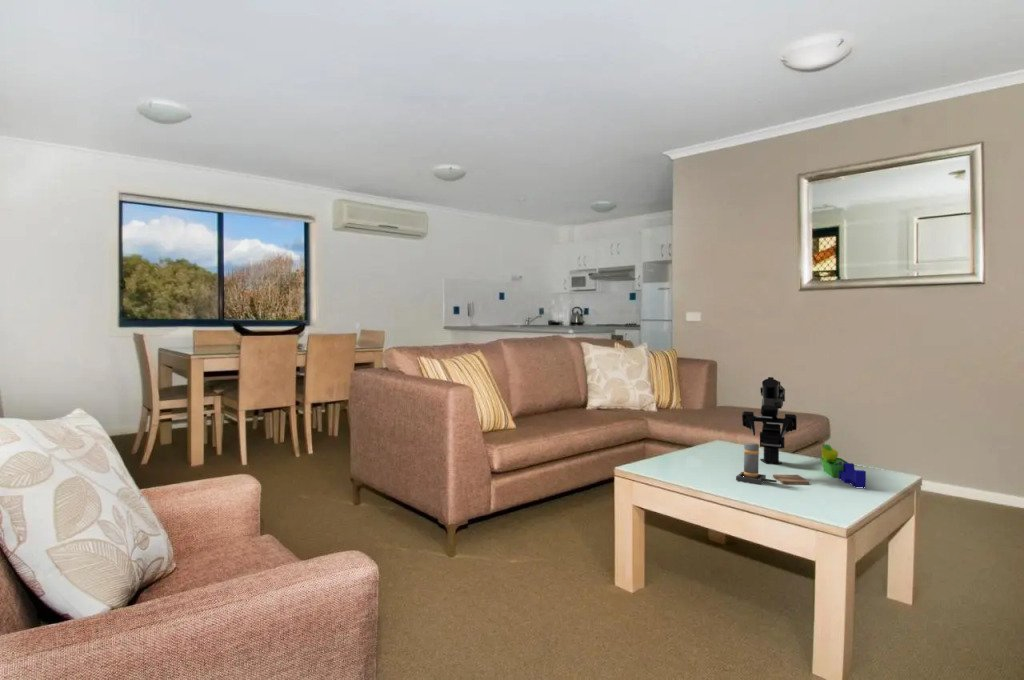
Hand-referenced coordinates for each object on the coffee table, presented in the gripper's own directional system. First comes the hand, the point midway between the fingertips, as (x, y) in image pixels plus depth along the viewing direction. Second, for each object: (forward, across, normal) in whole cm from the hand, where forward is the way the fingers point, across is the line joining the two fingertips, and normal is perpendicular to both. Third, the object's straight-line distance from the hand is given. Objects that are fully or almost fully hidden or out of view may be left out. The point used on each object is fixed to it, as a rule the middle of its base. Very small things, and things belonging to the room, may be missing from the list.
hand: (767, 435), depth 213 cm
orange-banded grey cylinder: (+15, -5, +8) cm, 18 cm away
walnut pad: (+10, +8, +12) cm, 17 cm away
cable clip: (+5, +27, +16) cm, 32 cm away
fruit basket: (-4, +22, +22) cm, 31 cm away
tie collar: (+15, -3, +8) cm, 17 cm away
